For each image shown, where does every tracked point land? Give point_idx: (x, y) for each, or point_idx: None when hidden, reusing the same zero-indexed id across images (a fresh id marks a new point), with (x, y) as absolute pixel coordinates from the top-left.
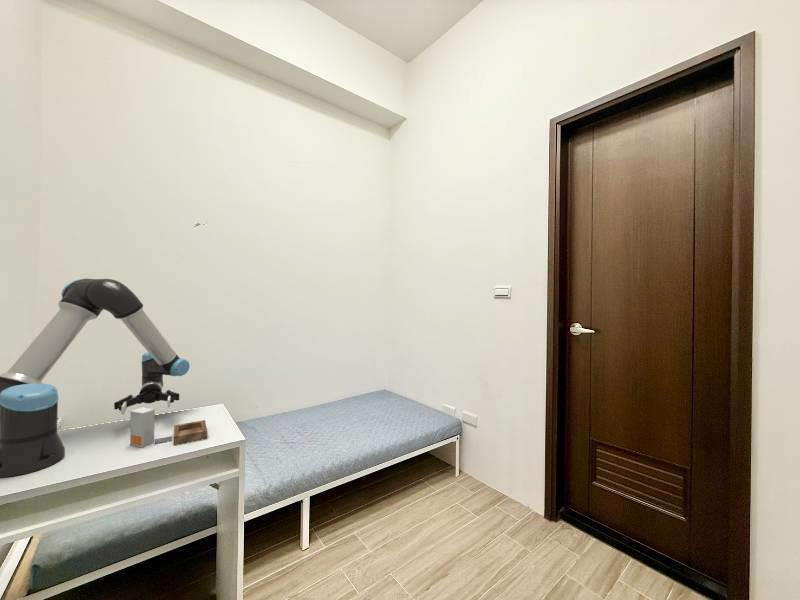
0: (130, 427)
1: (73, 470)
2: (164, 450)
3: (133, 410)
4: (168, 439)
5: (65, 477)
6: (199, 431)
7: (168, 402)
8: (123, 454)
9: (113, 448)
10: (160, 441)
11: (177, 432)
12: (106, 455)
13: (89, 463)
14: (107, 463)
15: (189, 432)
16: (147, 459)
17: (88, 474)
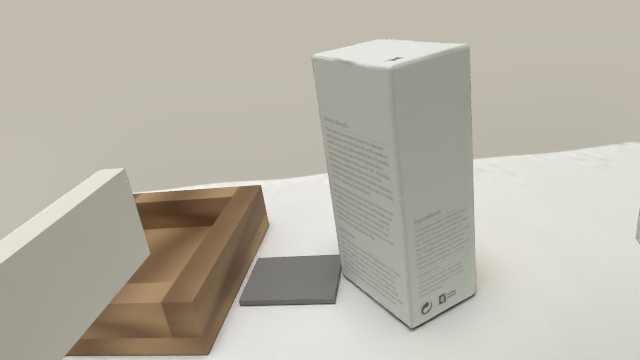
0: (471, 176)
1: (635, 178)
2: (310, 205)
3: (449, 46)
4: (270, 270)
5: (626, 155)
6: (149, 196)
7: (124, 195)
8: (475, 222)
9: (571, 292)
10: (311, 263)
11: (228, 211)
12: (563, 235)
13: (603, 201)
14: (515, 186)
15: (186, 198)
16: None
17: (547, 154)
